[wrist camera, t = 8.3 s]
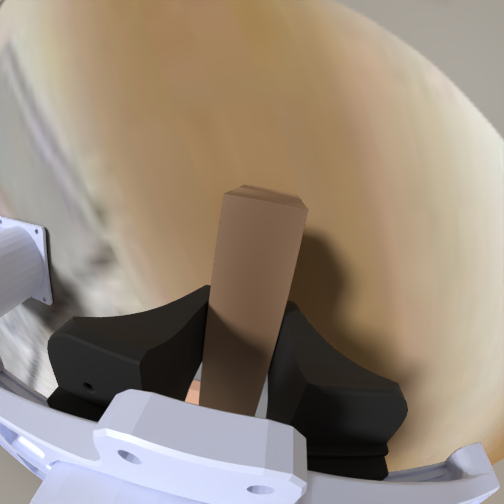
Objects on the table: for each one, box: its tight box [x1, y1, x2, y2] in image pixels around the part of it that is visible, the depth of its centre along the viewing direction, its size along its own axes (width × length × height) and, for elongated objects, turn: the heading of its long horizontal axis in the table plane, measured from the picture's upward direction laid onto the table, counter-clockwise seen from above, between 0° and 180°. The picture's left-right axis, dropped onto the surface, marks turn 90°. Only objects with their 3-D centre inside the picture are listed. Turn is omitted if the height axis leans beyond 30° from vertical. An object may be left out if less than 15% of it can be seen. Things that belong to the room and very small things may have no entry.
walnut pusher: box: [199, 185, 308, 417], centre depth 12 cm, size 2×10×5 cm, turn 170°
